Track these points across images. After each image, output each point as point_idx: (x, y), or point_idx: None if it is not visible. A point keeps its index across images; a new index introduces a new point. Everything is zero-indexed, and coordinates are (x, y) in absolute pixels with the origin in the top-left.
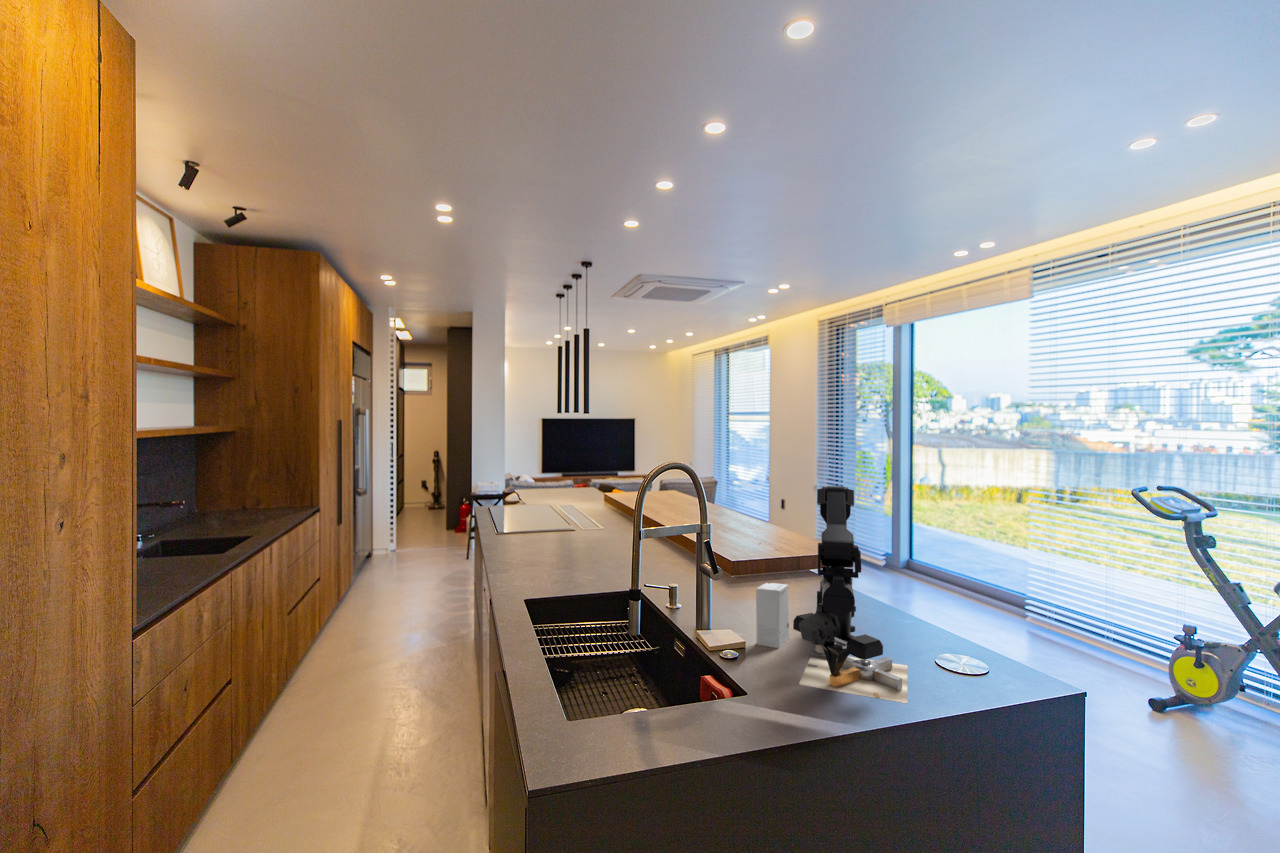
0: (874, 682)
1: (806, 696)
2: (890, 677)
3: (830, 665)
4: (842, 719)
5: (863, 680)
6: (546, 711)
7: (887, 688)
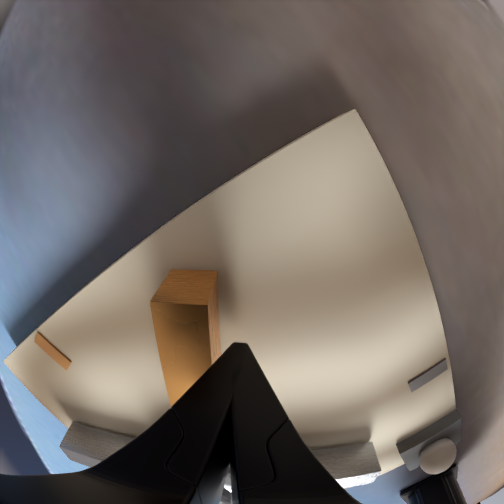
0: None
1: (271, 102)
2: (83, 454)
3: (243, 387)
4: (26, 96)
5: None
6: None
7: (97, 420)
